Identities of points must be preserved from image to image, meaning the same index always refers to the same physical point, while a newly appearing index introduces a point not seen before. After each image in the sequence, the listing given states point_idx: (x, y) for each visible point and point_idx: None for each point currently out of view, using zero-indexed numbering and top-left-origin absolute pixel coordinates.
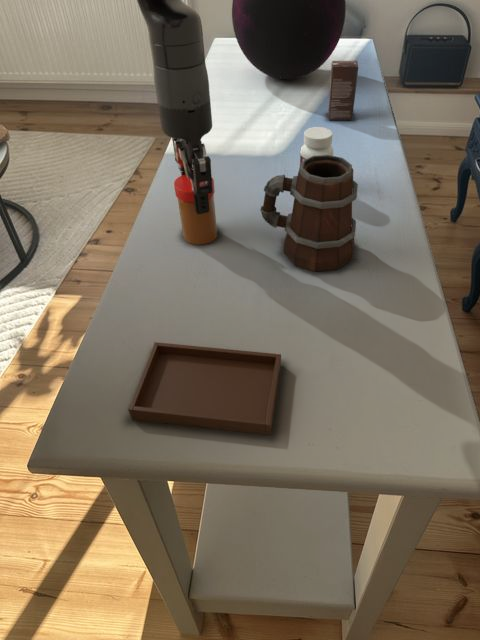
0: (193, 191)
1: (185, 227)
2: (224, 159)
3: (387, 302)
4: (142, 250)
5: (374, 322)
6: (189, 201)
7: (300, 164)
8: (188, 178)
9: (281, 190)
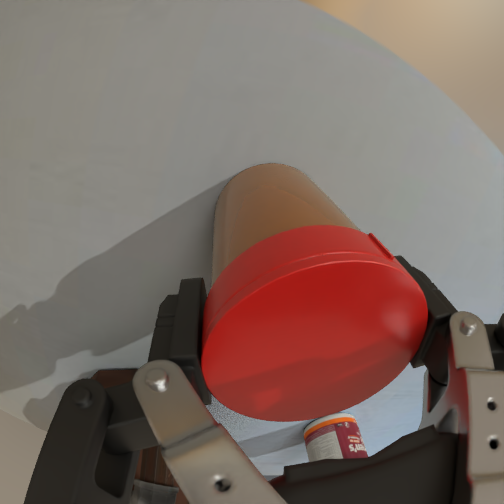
0: (146, 376)
1: (247, 187)
2: (495, 315)
3: (41, 409)
4: (247, 21)
5: (8, 386)
6: (210, 289)
7: (350, 455)
8: (194, 435)
9: (131, 498)
